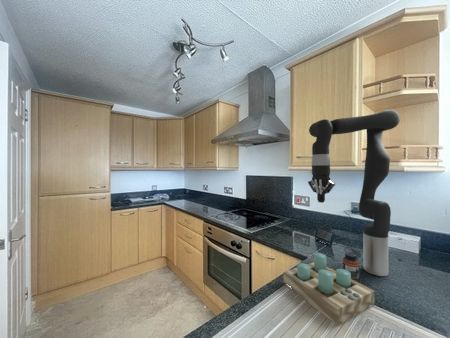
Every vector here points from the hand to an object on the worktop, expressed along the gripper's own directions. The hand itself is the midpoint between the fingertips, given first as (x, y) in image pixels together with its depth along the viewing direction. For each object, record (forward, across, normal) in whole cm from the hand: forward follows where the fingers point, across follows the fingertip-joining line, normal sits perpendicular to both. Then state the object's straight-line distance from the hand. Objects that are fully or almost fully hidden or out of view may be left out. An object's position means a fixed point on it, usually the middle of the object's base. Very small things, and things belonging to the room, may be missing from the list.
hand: (321, 202), depth 88 cm
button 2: (+28, -4, +6) cm, 29 cm away
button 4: (+30, -14, +6) cm, 34 cm away
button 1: (+30, -4, +16) cm, 34 cm away
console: (+33, -10, +11) cm, 36 cm away
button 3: (+28, -14, +16) cm, 35 cm away
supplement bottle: (+33, -9, -7) cm, 35 cm away
